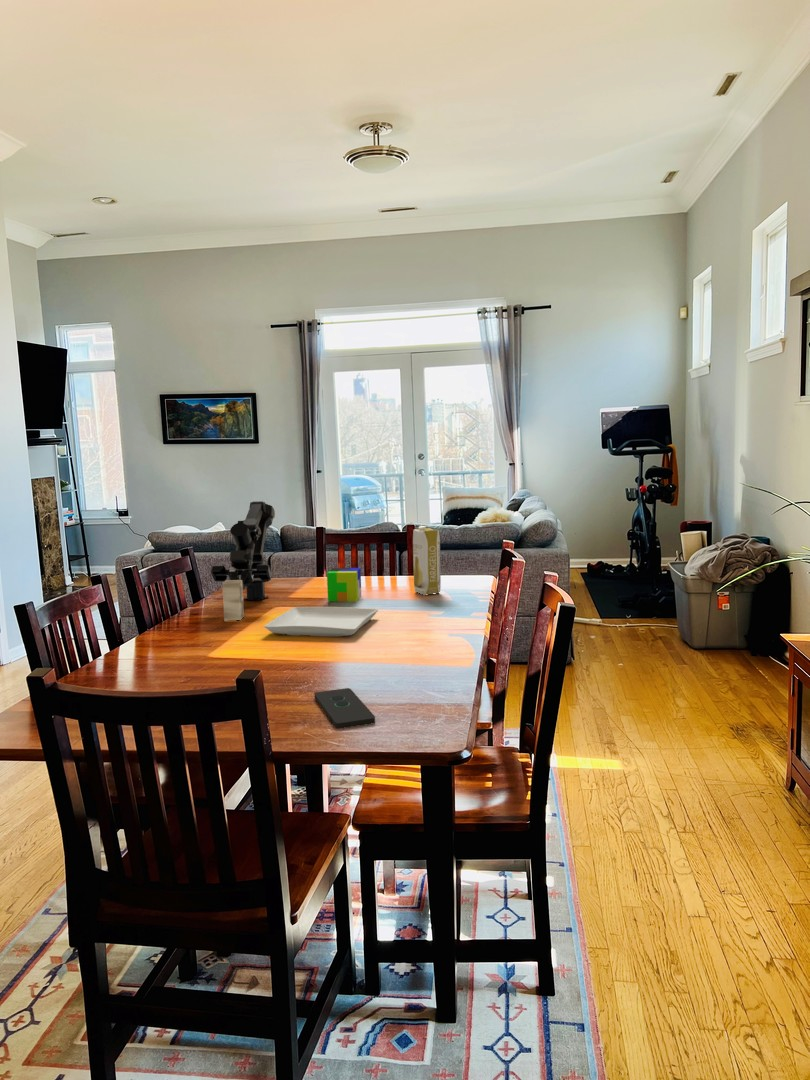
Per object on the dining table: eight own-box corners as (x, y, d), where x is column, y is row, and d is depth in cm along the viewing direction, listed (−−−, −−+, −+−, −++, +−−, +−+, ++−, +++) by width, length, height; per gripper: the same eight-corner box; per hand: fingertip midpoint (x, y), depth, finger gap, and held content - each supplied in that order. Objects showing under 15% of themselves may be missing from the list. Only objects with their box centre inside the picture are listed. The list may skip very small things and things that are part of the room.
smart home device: (350, 687, 172) (376, 716, 153) (350, 694, 172) (377, 725, 153) (312, 691, 169) (335, 722, 150) (313, 699, 169) (335, 731, 150)
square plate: (356, 641, 217) (355, 627, 216) (262, 638, 222) (261, 625, 222) (379, 619, 243) (378, 606, 242) (294, 617, 248) (294, 605, 248)
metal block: (228, 617, 248) (226, 580, 247) (244, 617, 248) (242, 579, 247) (224, 621, 243) (222, 583, 242) (240, 621, 243) (238, 582, 242)
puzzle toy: (361, 595, 278) (360, 567, 277) (356, 601, 268) (355, 572, 267) (333, 595, 279) (332, 568, 278) (328, 601, 269) (326, 573, 268)
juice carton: (411, 592, 282) (410, 525, 278) (431, 589, 285) (430, 524, 282) (423, 596, 273) (421, 528, 270) (443, 594, 276) (442, 526, 273)
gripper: (210, 540, 254) (202, 580, 245) (267, 539, 254) (262, 579, 244) (218, 561, 263) (211, 600, 254) (273, 560, 262) (268, 599, 253)
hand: (237, 594), depth 251 cm, fingers closed
